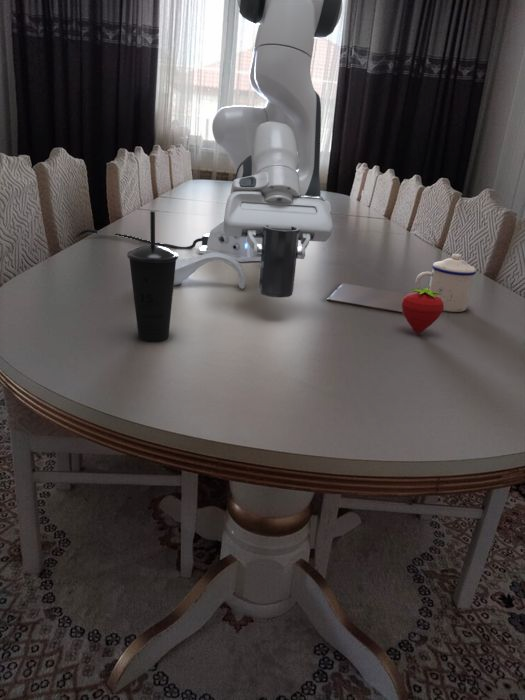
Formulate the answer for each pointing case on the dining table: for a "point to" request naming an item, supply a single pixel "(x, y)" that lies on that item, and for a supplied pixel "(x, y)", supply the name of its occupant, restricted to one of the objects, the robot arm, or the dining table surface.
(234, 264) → the white arch
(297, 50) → the robot arm
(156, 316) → the drinking cup
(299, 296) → the dining table surface
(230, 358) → the dining table surface
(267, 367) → the dining table surface
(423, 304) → the strawberry
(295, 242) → the waste bin
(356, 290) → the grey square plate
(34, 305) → the dining table surface
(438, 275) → the teacup with lid
